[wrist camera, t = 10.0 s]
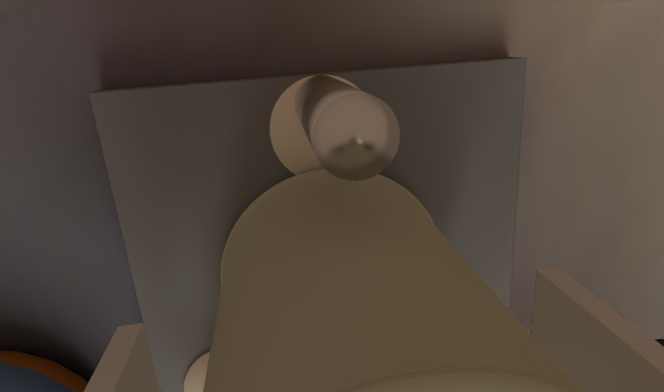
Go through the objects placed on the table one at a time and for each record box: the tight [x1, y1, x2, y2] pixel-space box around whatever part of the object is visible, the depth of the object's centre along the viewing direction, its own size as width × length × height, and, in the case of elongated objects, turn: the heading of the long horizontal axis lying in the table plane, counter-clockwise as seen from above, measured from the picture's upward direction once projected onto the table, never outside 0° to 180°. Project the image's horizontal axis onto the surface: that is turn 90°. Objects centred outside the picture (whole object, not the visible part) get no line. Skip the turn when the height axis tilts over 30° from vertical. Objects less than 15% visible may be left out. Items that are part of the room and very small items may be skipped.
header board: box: [89, 57, 526, 392], centre depth 19 cm, size 16×16×1 cm
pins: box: [294, 75, 400, 181], centre depth 15 cm, size 14×12×7 cm
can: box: [203, 168, 584, 392], centre depth 13 cm, size 9×9×12 cm
